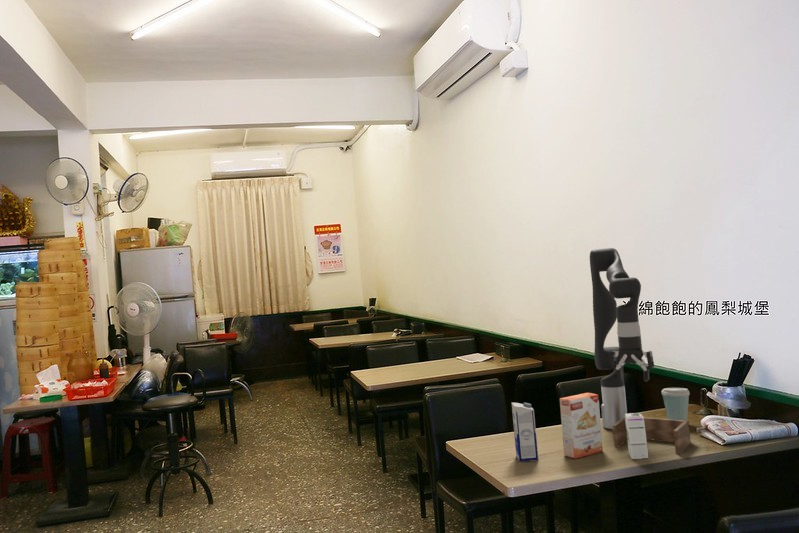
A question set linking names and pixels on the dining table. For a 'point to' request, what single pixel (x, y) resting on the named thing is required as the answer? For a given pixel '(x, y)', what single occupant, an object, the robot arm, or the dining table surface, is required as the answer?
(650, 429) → the wooden u-shaped bracket
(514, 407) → the milk carton
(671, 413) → the disposable coffee cup
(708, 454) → the dining table surface
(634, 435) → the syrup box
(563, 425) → the cracker box
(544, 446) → the dining table surface
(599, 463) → the dining table surface
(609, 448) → the dining table surface
